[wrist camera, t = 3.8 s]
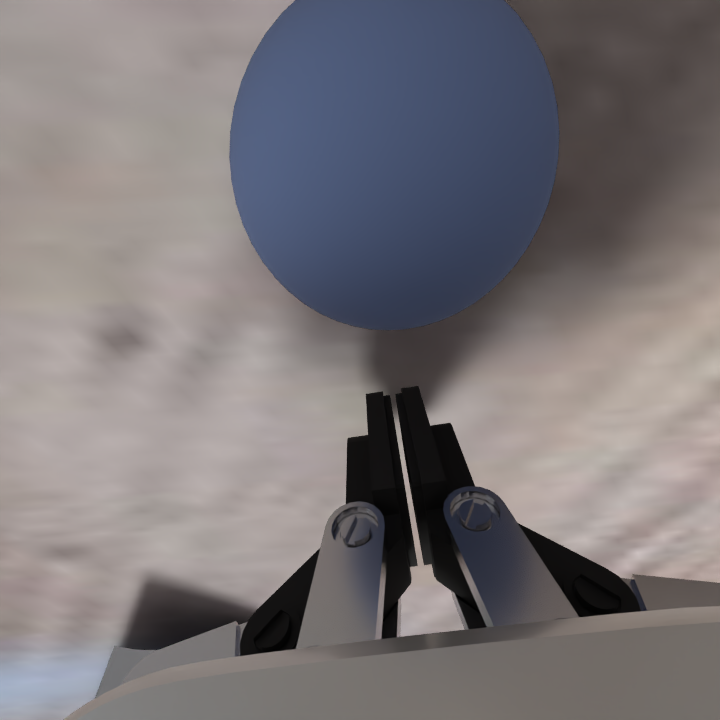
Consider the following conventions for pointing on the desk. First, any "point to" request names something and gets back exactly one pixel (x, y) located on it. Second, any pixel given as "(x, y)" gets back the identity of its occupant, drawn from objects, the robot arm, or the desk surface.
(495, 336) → the desk surface
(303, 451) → the desk surface
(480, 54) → the ball
